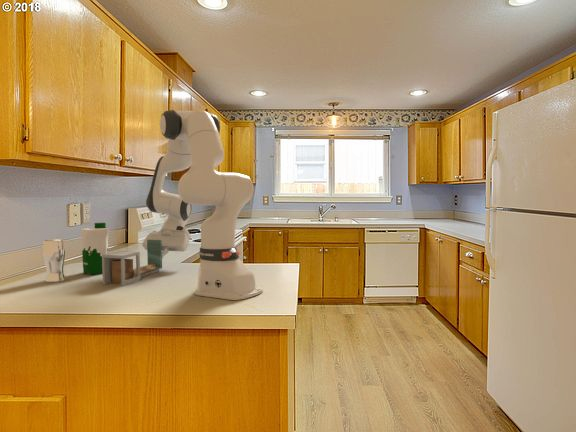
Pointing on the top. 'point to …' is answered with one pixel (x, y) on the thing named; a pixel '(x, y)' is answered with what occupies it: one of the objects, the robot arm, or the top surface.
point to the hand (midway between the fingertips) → (158, 257)
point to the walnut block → (117, 270)
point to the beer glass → (54, 259)
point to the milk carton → (94, 248)
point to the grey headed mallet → (122, 267)
